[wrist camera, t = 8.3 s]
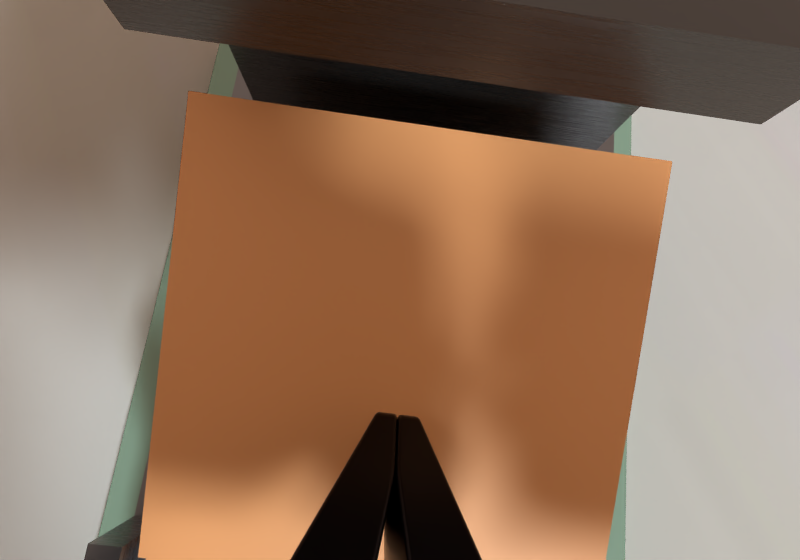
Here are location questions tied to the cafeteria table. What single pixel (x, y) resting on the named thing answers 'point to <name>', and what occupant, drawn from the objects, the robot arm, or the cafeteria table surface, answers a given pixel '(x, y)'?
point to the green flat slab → (143, 400)
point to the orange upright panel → (395, 326)
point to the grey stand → (491, 71)
